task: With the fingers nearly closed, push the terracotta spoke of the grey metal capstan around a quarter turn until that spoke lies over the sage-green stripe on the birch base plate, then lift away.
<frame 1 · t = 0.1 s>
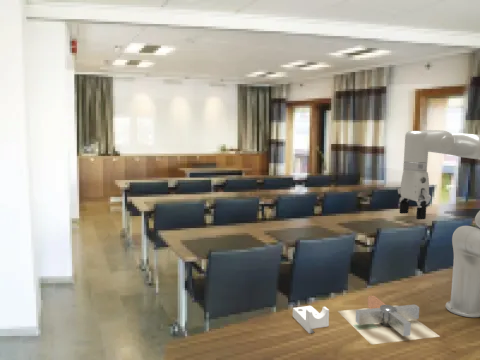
hand: (412, 216, 148), 37 cm above the table, tool pointing down, fingers open, 9 cm apart
base plate: (385, 327, 145), on the table
capstan: (387, 315, 143), point 5 cm above the table, hinge at 0.0°
bracket: (309, 324, 147), on the table
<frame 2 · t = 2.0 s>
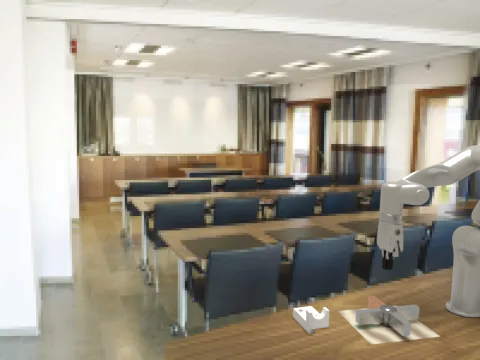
hand: (387, 268, 151), 17 cm above the table, tool pointing down, fingers closed
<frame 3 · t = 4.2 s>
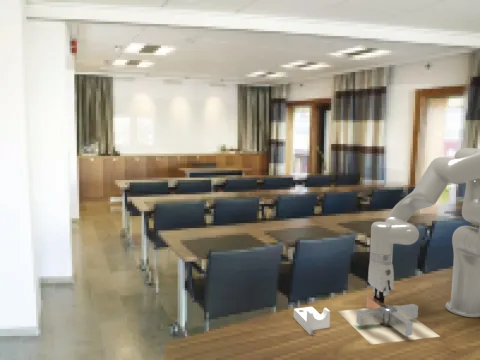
hand: (378, 306, 152), 4 cm above the table, tool pointing down, fingers closed
capstan: (387, 315, 143), point 5 cm above the table, hinge at 3.5°, touching gripper
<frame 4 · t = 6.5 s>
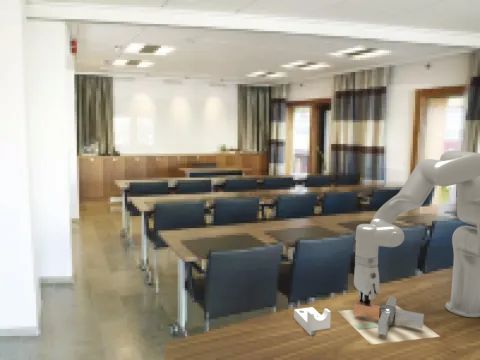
hand: (364, 310, 150), 3 cm above the table, tool pointing down, fingers closed
capstan: (387, 315, 143), point 5 cm above the table, hinge at 50.1°, touching gripper
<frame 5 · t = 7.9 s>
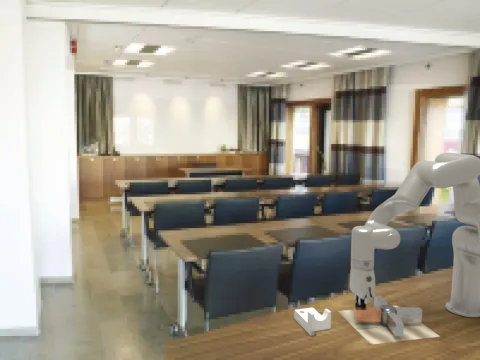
hand: (360, 314, 147), 3 cm above the table, tool pointing down, fingers closed
capstan: (387, 315, 143), point 5 cm above the table, hinge at 77.3°, touching gripper
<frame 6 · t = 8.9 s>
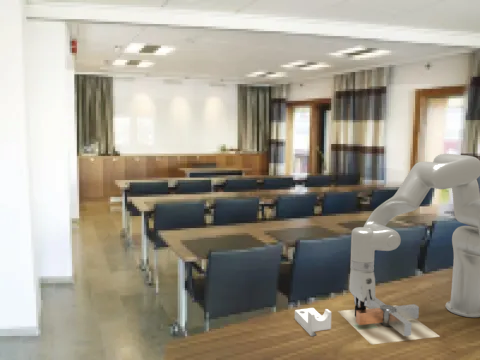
hand: (360, 317, 145), 3 cm above the table, tool pointing down, fingers closed
capstan: (387, 315, 143), point 5 cm above the table, hinge at 91.3°, touching gripper
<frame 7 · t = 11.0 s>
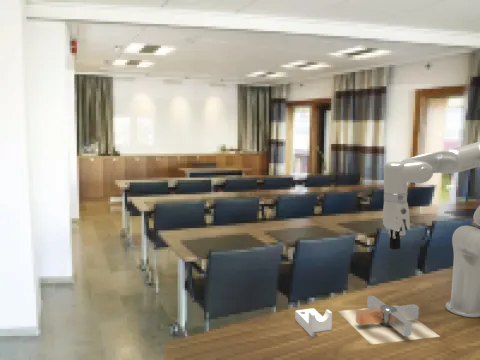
hand: (394, 248, 151), 25 cm above the table, tool pointing down, fingers closed
capstan: (387, 315, 143), point 5 cm above the table, hinge at 91.4°
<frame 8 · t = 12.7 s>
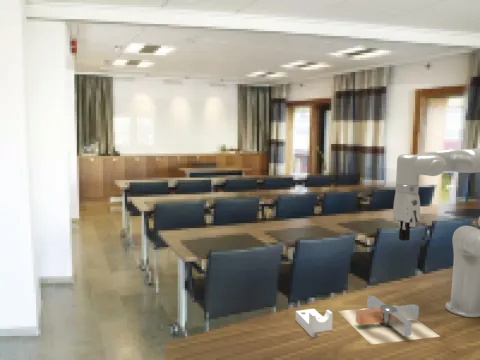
hand: (404, 239, 153), 27 cm above the table, tool pointing down, fingers closed
at the end: capstan at +91° (first picture: +0°) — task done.
